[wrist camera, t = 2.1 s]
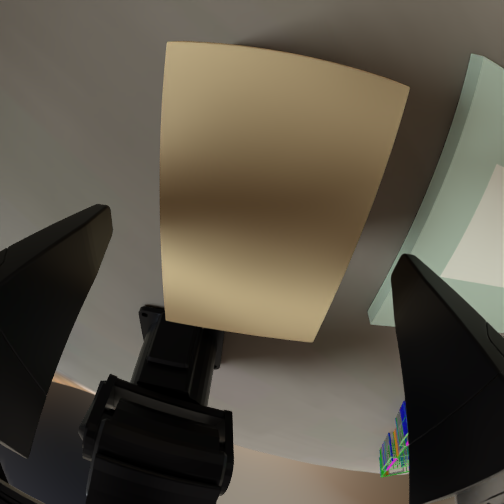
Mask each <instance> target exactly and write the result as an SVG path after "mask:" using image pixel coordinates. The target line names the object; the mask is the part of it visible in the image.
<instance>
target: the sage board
mask: <svg viewBox="0 0 504 504" xmlns="http://www.w3.org/2000/svg"><path fill="white" fill-rule="evenodd" d="M404 253H406V254H412V255H415V256H416V257H417V258H419V259H420V260H421V261H422V262H423V263H424V264H426V265H427V266H428V267H429V268H430V269H431V270H432V271H434V272H435V273H436V274H437V275H438V276H439V277H440V278H441V279H443V280H444V281H445V282H446V283H447V284H448V285H449V286H450V287H451V288H452V289H454V290H455V291H456V292H457V293H458V294H459V295H460V296H461V297H462V298H463V299H464V300H465V301H466V302H467V303H469V304H470V305H471V306H472V307H473V308H474V309H475V310H476V311H477V312H478V313H479V314H480V315H481V316H482V317H483V318H484V319H485V320H486V322H488V323H489V324H490V325H491V326H492V327H493V328H494V329H495V330H496V331H497V332H498V333H504V69H503V68H502V67H500V66H499V65H497V64H496V63H494V62H492V61H491V60H489V59H488V58H486V57H484V56H480V55H476V54H471V57H470V61H469V65H468V69H467V73H466V77H465V81H464V84H463V88H462V92H461V95H460V99H459V102H458V105H457V109H456V112H455V115H454V118H453V121H452V124H451V127H450V130H449V133H448V136H447V139H446V142H445V145H444V148H443V151H442V153H441V156H440V159H439V161H438V164H437V167H436V169H435V172H434V174H433V177H432V179H431V182H430V184H429V187H428V189H427V192H426V194H425V197H424V199H423V201H422V204H421V206H420V208H419V210H418V213H417V215H416V217H415V219H414V222H413V224H412V226H411V228H410V230H409V233H408V235H407V237H406V239H405V241H404V243H403V245H402V247H401V249H400V251H399V253H398V255H397V257H396V259H395V261H394V263H393V265H392V267H391V269H390V271H389V273H388V275H387V277H386V279H385V281H384V282H383V284H382V286H381V288H380V290H379V292H378V294H377V295H376V297H375V299H374V301H373V303H372V304H371V306H370V308H369V310H368V311H367V312H368V316H369V321H370V324H371V325H381V326H392V327H395V322H394V311H393V299H392V288H391V274H392V272H393V270H394V268H395V266H396V264H397V262H398V260H399V258H400V256H401V255H402V254H404Z"/></svg>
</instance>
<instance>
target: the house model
mask: <svg viewBox="0 0 504 504" xmlns="http://www.w3.org/2000/svg"><path fill="white" fill-rule="evenodd" d="M400 408H401V409H400V410H399V411H400V412H398V413H399V414H397V417H396V418H395V420H396V426H397V427H396V429H395V430H394V432H393V436H394V444H395V450H394V447H393V452H394V451H395V452H396V453H392V446H393V445H391V438H390V433H388V436H387V438H386V440H385V441H384V443H383V445H382V447H383V453H382V447H381V449H380V457H379V461H380V473H381V477H386V476H391V475H397V474H401V473H406V472H409V471H407V468H406V472H404V468H403V471H402V472H400V471H398V472H397V473H396V472H393V473H392V474H391V473H389V468H390V467H391V466H393V469H394V466H395V465H396V464H395V465H393V464H394V462H396V460H397V461H398V458H399V462H396V463H399V464H397V468H395V469H398V465H400V461H401V467H400V468H402V467H404V466H405V467H407V465H405V464H406V463H409V448H408V446H409V444H408V437H407V435H408V427H407V414H406V403H405V401H403V404H402V405H401V407H400ZM400 416H401V417H400ZM399 419H400V420H399ZM400 429H401V430H400ZM401 435H402V438H401ZM388 442H389V443H388ZM402 442H403V444H402ZM392 444H393V443H392ZM387 447H388V449H389V453H387V452H388V451H387ZM406 449H407V451H406ZM388 454H389V459H388ZM393 454H395V455H396V457H395V455H394V457H393ZM404 456H405V459H404ZM407 456H408V458H407ZM393 458H394V460H393ZM400 459H401V460H400ZM391 460H392V463H391ZM389 461H390V462H389ZM404 461H405V462H404ZM388 463H390V464H388ZM393 469H390V470H393Z"/></svg>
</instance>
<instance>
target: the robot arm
mask: <svg viewBox="0 0 504 504" xmlns="http://www.w3.org/2000/svg"><path fill="white" fill-rule="evenodd" d="M112 232H113V227H112V218H111V210H110V207H109V206H108V205H101V204H96V205H94V206H91V207H89V208H87V209H84V210H82V211H80V212H78V213H76V214H73V215H71V216H69V217H67V218H65V219H63V220H61V221H59V222H56V223H54V224H52V225H50V226H48V227H46V228H44V229H42V230H40V231H38V232H36V233H34V234H32V235H30V236H28V237H26V238H24V239H22V240H21V241H19V242H17V243H15V244H13V245H11V246H9V247H8V248H5V249H4V250H2V251H0V444H2V445H3V446H5V447H7V448H8V449H10V450H12V451H14V452H16V453H17V454H19V455H21V456H23V457H25V458H27V459H28V457H29V454H30V451H31V446H32V443H33V439H34V435H35V432H36V429H37V425H38V422H39V418H40V415H41V412H42V409H43V406H44V403H45V400H46V395H47V393H48V390H49V387H50V385H51V382H52V379H53V376H54V373H55V371H56V368H57V365H58V363H59V360H60V357H61V355H62V352H63V350H64V347H65V345H66V342H67V340H68V338H69V335H70V333H71V330H72V328H73V326H74V323H75V321H76V319H77V316H78V314H79V312H80V310H81V307H82V305H83V303H84V301H85V299H86V297H87V294H88V292H89V290H90V288H91V286H92V284H93V282H94V280H95V278H96V275H97V273H98V270H99V268H100V265H101V262H102V260H103V257H104V254H105V252H106V249H107V247H108V244H109V241H110V239H111V236H112ZM391 288H392V299H393V311H394V322H395V328H396V334H397V340H398V347H399V353H400V360H401V368H402V376H403V384H404V393H405V403H406V414H407V427H408V444H409V446H408V448H409V504H429V503H432V502H436V501H440V500H443V499H447V498H450V497H453V496H455V504H504V338H503V337H502V336H501V335H500V334H499V333H498V332H497V331H496V330H495V329H494V328H493V327H492V326H491V325H490V324H489V323H488V322H486V320H485V319H484V318H483V317H482V316H481V315H480V314H479V313H478V312H477V311H476V310H475V309H474V308H473V307H472V306H471V305H470V304H469V303H467V302H466V301H465V300H464V299H463V298H462V297H461V296H460V295H459V294H458V293H457V292H456V291H455V290H454V289H452V288H451V287H450V286H449V285H448V284H447V283H446V282H445V281H444V280H443V279H441V278H440V277H439V276H438V275H437V274H436V273H435V272H434V271H432V270H431V269H430V268H429V267H428V266H427V265H426V264H424V263H423V262H422V261H421V260H420V259H419V258H417V257H416V256H415V255H412V254H406V253H404V254H402V255H401V256H400V258H399V260H398V262H397V264H396V266H395V268H394V270H393V272H392V274H391ZM139 318H140V324H141V329H142V334H143V339H144V343H143V345H142V348H141V351H140V354H139V357H138V360H137V363H136V366H135V369H134V372H133V375H132V378H131V382H127V381H124V380H122V379H119V378H117V376H115V375H112V374H110V375H109V377H108V379H107V381H100V384H99V387H98V390H97V392H96V395H95V398H94V400H93V402H92V404H91V406H90V408H89V410H88V411H87V413H86V415H85V417H84V419H83V421H82V423H81V424H80V427H79V430H78V433H79V435H80V437H81V438H82V440H83V443H82V447H83V458H84V459H87V460H89V461H91V466H90V471H89V476H88V482H87V488H86V495H87V499H86V504H216V501H217V499H218V497H219V496H221V495H223V494H224V493H225V492H226V490H227V488H228V486H229V483H230V481H231V477H232V472H233V465H234V454H233V453H234V452H233V420H232V411H228V410H224V411H223V410H219V409H215V408H211V407H207V405H208V399H209V393H210V387H211V381H212V375H213V369H219V368H220V361H221V354H222V346H223V339H224V331H222V330H216V329H210V328H204V327H198V326H192V325H187V324H181V323H176V322H171V321H166V317H165V310H161V309H156V308H151V307H145V306H143V307H141V308H140V310H139ZM114 407H116V409H115V410H113V408H114ZM0 504H45V503H42V502H41V501H39V500H37V499H35V498H33V497H31V496H29V495H27V494H25V493H23V492H22V491H20V490H18V489H16V488H15V487H13V486H11V485H10V484H9V483H8V481H7V479H6V476H5V474H4V471H3V469H2V466H1V463H0Z"/></svg>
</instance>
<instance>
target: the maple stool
mask: <svg viewBox="0 0 504 504" xmlns="http://www.w3.org/2000/svg"><path fill="white" fill-rule="evenodd" d="M409 90H410V87H408V86H406V85H404V84H401V83H399V82H396V81H394V80H391V79H389V78H386V77H383V76H380V75H376V74H373V73H370V72H367V71H364V70H360V69H357V68H353V67H350V66H346V65H342V64H338V63H335V62H330V61H326V60H322V59H318V58H313V57H309V56H304V55H299V54H294V53H288V52H283V51H277V50H271V49H264V48H258V47H250V46H242V45H233V44H223V43H210V42H194V41H173V42H167V48H166V58H165V69H164V82H163V96H162V114H161V138H160V233H161V258H162V277H163V292H164V305H165V317H166V321H171V322H176V323H181V324H187V325H192V326H198V327H204V328H210V329H216V330H222V331H228V332H235V333H241V334H248V335H255V336H262V337H270V338H278V339H286V340H294V341H303V342H312V343H313V341H314V339H315V337H316V335H317V333H318V330H319V328H320V326H321V324H322V322H323V320H324V318H325V316H326V314H327V312H328V309H329V307H330V305H331V303H332V301H333V299H334V296H335V294H336V292H337V290H338V287H339V285H340V283H341V281H342V278H343V276H344V274H345V271H346V269H347V267H348V264H349V262H350V260H351V257H352V255H353V253H354V250H355V248H356V245H357V243H358V240H359V238H360V235H361V233H362V230H363V228H364V225H365V223H366V220H367V218H368V215H369V212H370V210H371V207H372V204H373V202H374V199H375V196H376V193H377V191H378V188H379V185H380V182H381V180H382V177H383V174H384V171H385V168H386V165H387V162H388V159H389V156H390V153H391V150H392V147H393V144H394V141H395V138H396V134H397V131H398V128H399V125H400V121H401V118H402V115H403V111H404V108H405V104H406V101H407V97H408V93H409Z"/></svg>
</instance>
